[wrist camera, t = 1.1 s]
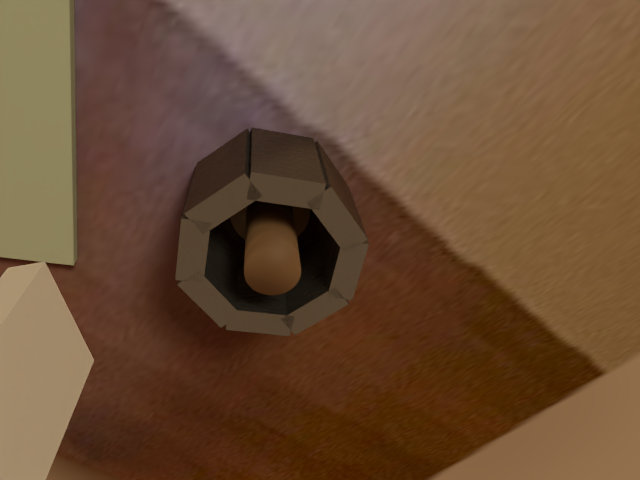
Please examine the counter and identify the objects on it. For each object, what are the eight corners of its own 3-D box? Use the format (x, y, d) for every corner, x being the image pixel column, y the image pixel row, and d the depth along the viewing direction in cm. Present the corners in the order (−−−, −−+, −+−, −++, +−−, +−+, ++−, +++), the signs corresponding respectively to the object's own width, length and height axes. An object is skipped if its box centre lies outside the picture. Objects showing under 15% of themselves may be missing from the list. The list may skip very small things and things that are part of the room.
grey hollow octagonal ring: (185, 259, 35) (171, 324, 29) (200, 118, 31) (186, 161, 25) (326, 276, 37) (339, 341, 31) (360, 146, 33) (384, 193, 27)
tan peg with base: (225, 234, 35) (217, 306, 28) (235, 162, 32) (229, 222, 25) (300, 244, 36) (310, 316, 29) (316, 175, 33) (331, 236, 26)
